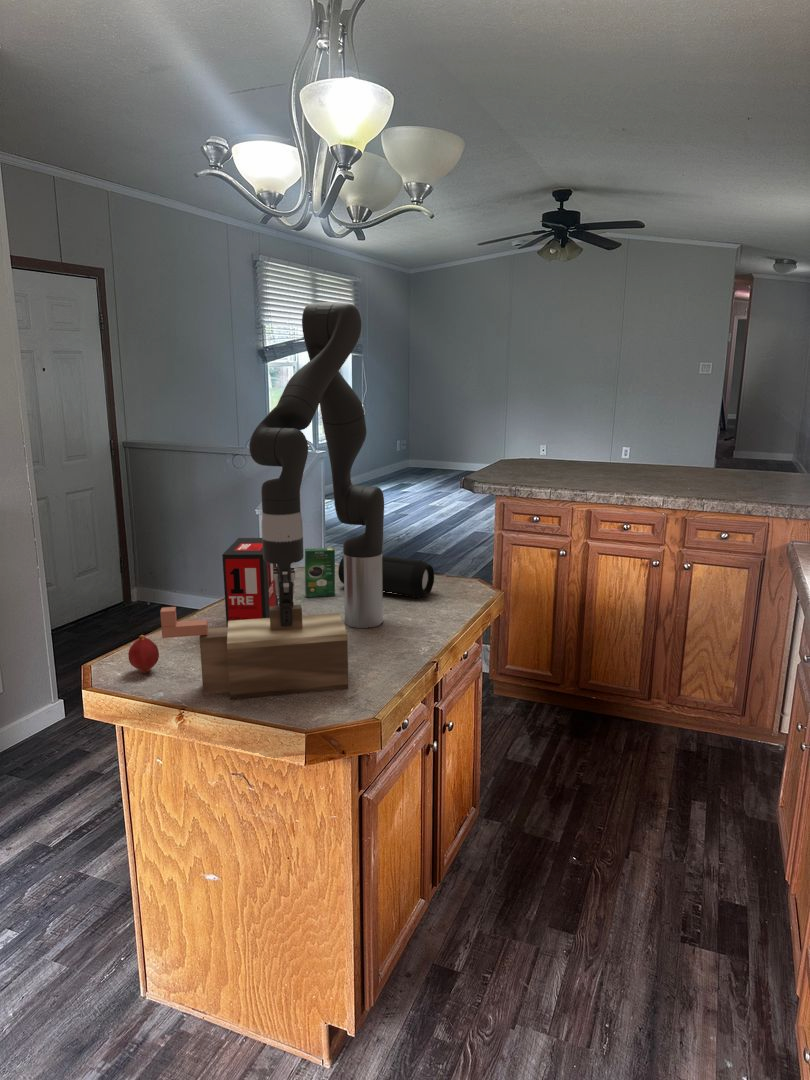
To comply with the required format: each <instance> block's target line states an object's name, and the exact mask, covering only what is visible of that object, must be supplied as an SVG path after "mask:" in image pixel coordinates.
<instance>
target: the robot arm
mask: <svg viewBox="0 0 810 1080" xmlns="http://www.w3.org/2000/svg"><path fill="white" fill-rule="evenodd" d="M301 328H302V335H303V339H304V343H305V347H306V352H307V354H308V358H309V360H308V362H307V363H306V364H304V365H303V366H302V367H301V368H299V369H298V370H297V371H296V372H294V374H293V375H291V376H292V377H290V379H288V382H287V383H286V386H285V387H284V388H283V389H284V390H283V392H282V394H281V396H280V398H279V400H278V401H277V404H276V406H275V407H274V408H273V409H271V411H269V412H268V413H267V415H266V416H265V417H264V418H263V420H262V421H261V422H260V423H259V424H258V425H257V426H256V427H255V429H254V431H253V432H252V434H251V436H250V441H249V444H248V445H249V448H248V449H249V454H250V457H251V459H252V460H253V462H255V463H256V464H257V465H260V466H265V467H281V472H280V475H279V477H278V478H277V477H276V478H272V479H268V480H265V481H264V482H263V483H262V484H261V508H262V509H261V511H262V513H261V514H262V515H261V538H262V545H263V559H264V561H266V562H267V563H271V564H274V563H275V564H277V566H276V568H273V575H274V581H275V590H276V595H277V596H278V597H277V598H278V606H279V608H280V622H281V626H282V627H288V626H292V607H293V605H295V603H294V596H295V592H296V591H295V580H296V572H295V567H293V566H292V567H291V565H292V564H294V563H295V564H296V563H299V562H301V561H302V560H303V559H304V535H303V534H304V533H303V532H304V531H303V530H304V529H303V518H302V513H301V512H302V511H301V485H302V481H303V476H304V471H305V467H306V463H307V460H308V455H309V454H308V453H309V443H308V440H307V437H306V435H305V433H304V432H302V430H305V429H307V428H308V427H309V426H310V425H311V423H312V421H313V418H314V416H315V414H316V411H317V409H318V407H320V414H321V422H322V427H323V431H324V436H325V441H326V445H327V452H328V457H329V463H330V470H331V479H332V481H331V482H332V490H333V492H332V493H333V500H334V501H333V502H334V510H335V514H336V517H337V519H338V521H339V522H340V523H341V524H344V525H345V524H346V525H352V526H365V530H364V533H362V534H361V535H358V536H355V537H352V538H348V539H347V540H345V541H344V542H343V547H342V550H343V557H344V584H343V585H344V587H343V589H344V623H345V624H346V625H347V626H348V627H351V628H357V629H368V627H370V628H375V627H379V626H380V625H381V623H382V622H384V596H383V595H384V593H383V565H382V556H383V543H384V521H385V520H384V519H385V518H384V517H385V495H384V493H383V490H382V489H381V487H379V486H376V485H375V486H373V485H355V484H354V485H353V483H352V479H351V474H352V473H351V472H352V467H353V465H354V463H355V460H356V458H357V456H358V455H359V453H360V451H361V449H362V448H363V445H364V443H365V441H366V437H367V426H366V425H367V424H366V419H365V417H366V416H365V411H364V407H363V403H362V401H361V399H360V397H359V395H358V394H357V393H356V392H355V391H354V388H352V387H351V385H350V384H349V383H348V381H347V380H346V379H345V378H344V376H343V375H342V374H341V371H340V370H341V368H342V367H343V366H344V364H345V363H346V361H347V359H348V358H349V357H350V355H351V354H352V352H353V351H354V349H355V347H356V346H357V344H358V342H359V340H360V337H361V332H362V319H361V314H360V312H359V309H358V308H357V306H355V305H354V304H352V303H351V302H342V301H341V302H339V301H335V302H333V301H331V302H330V301H329V302H327V301H326V302H325V301H324V302H319V301H318V302H311V303H308V304H307V305H305V307H304V309H303V311H302V318H301ZM345 624H344V625H345ZM382 624H383V623H382Z"/></svg>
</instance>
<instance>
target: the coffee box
mask: <svg viewBox="0 0 810 1080" xmlns="http://www.w3.org/2000/svg"><path fill="white" fill-rule="evenodd" d="M335 583H336V550H335V548H334V547H323V548H322V547H321V548H304V589H305V592H304V593H305V597H306V598H315V597H317V598H318V597H319V598H321V597H334V596H336V584H335Z"/></svg>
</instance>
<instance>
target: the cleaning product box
mask: <svg viewBox="0 0 810 1080" xmlns="http://www.w3.org/2000/svg"><path fill="white" fill-rule="evenodd" d="M276 566H277V564H275V563H274V564H271V563H267V562H266V561H264V559H263V545H262V537H238V538H237V539H235V541H234V542H233V543H232V544H231V545H230V546H229V547H228V548H227V549H226V550H224V552H223V554H222V571H223V572H222V573H223V586H224V587H223V588H224V602H225V603H224V606H225V620H226V623H225V624H226V627H228V621H233V620H247V619H261V618H270V611H269V607H270V606H279V602H278V598H277V597H278V596H277V595H276V590H275V581H274V575H273V568H276Z"/></svg>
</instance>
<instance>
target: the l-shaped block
mask: <svg viewBox="0 0 810 1080" xmlns="http://www.w3.org/2000/svg"><path fill="white" fill-rule="evenodd" d="M159 614H160V625H161V638H162V639H169V638H170V639H171V638H182V637H183V638H184V637H193V636H194V637H196V636H197V637H199V636H200V635H207V633H208V629H209V627H208V626H209V624H208V619H195V620H194V619H193V620H180V621H178V618H177V606H168V607H167V606H165V607H161V609H160V612H159Z"/></svg>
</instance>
